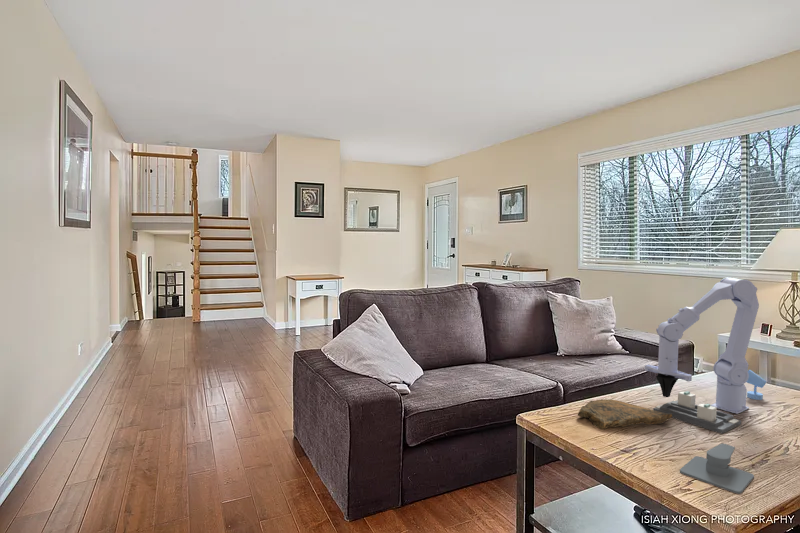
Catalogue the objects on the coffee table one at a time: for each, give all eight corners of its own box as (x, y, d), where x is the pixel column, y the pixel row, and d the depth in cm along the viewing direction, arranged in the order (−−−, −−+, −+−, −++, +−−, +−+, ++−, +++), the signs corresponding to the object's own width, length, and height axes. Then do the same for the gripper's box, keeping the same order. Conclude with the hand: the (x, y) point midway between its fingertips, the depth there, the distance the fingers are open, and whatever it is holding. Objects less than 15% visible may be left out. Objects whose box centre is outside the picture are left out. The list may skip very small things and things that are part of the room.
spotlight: (741, 397, 164) (765, 401, 160) (742, 370, 164) (767, 373, 160) (741, 393, 168) (765, 397, 164) (742, 367, 168) (766, 370, 164)
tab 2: (701, 417, 142) (702, 401, 141) (715, 422, 138) (716, 405, 138) (696, 419, 140) (697, 403, 140) (711, 424, 137) (712, 407, 136)
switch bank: (673, 404, 157) (673, 397, 157) (741, 424, 140) (741, 417, 140) (653, 411, 150) (653, 405, 150) (722, 433, 133) (722, 426, 133)
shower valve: (758, 453, 111) (741, 472, 101) (757, 474, 111) (739, 496, 101) (700, 435, 120) (679, 452, 110) (699, 455, 120) (678, 474, 111)
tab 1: (682, 404, 153) (682, 389, 153) (694, 408, 150) (695, 393, 149) (677, 406, 151) (678, 391, 151) (690, 409, 148) (691, 394, 148)
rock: (616, 394, 158) (678, 411, 141) (615, 410, 158) (677, 429, 141) (571, 402, 144) (634, 423, 127) (570, 419, 144) (632, 442, 127)
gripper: (640, 354, 159) (639, 392, 160) (685, 364, 147) (683, 405, 148) (651, 351, 163) (649, 388, 164) (695, 361, 151) (693, 401, 151)
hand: (666, 396), depth 156 cm, fingers closed
